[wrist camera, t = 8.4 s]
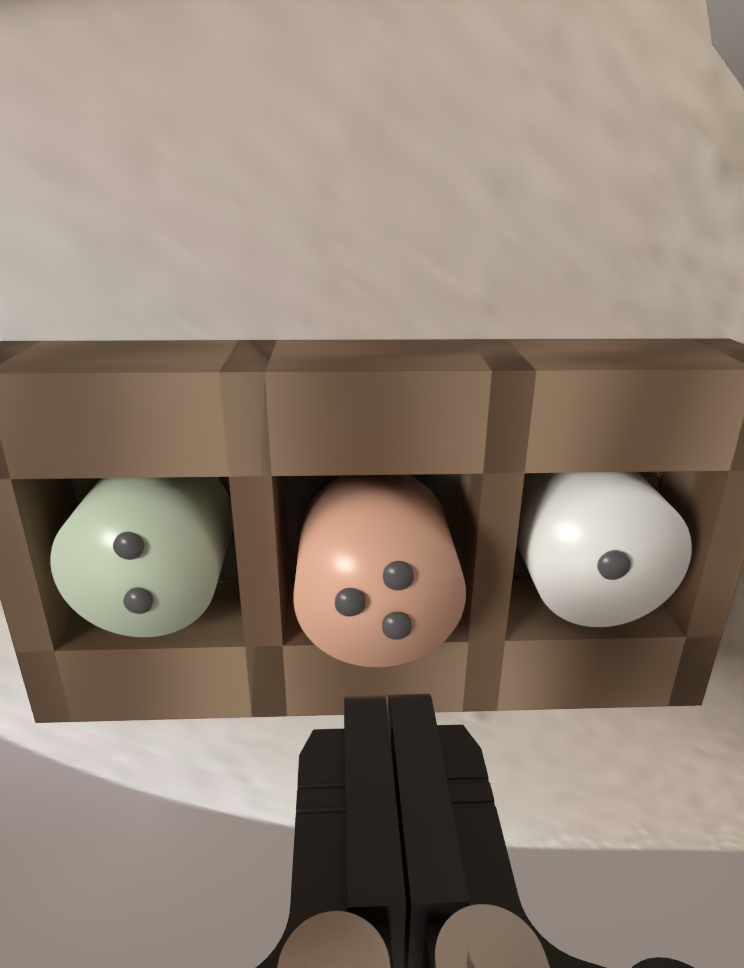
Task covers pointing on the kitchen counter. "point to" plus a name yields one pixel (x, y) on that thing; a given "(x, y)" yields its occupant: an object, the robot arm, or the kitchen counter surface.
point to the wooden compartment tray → (368, 451)
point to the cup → (728, 33)
